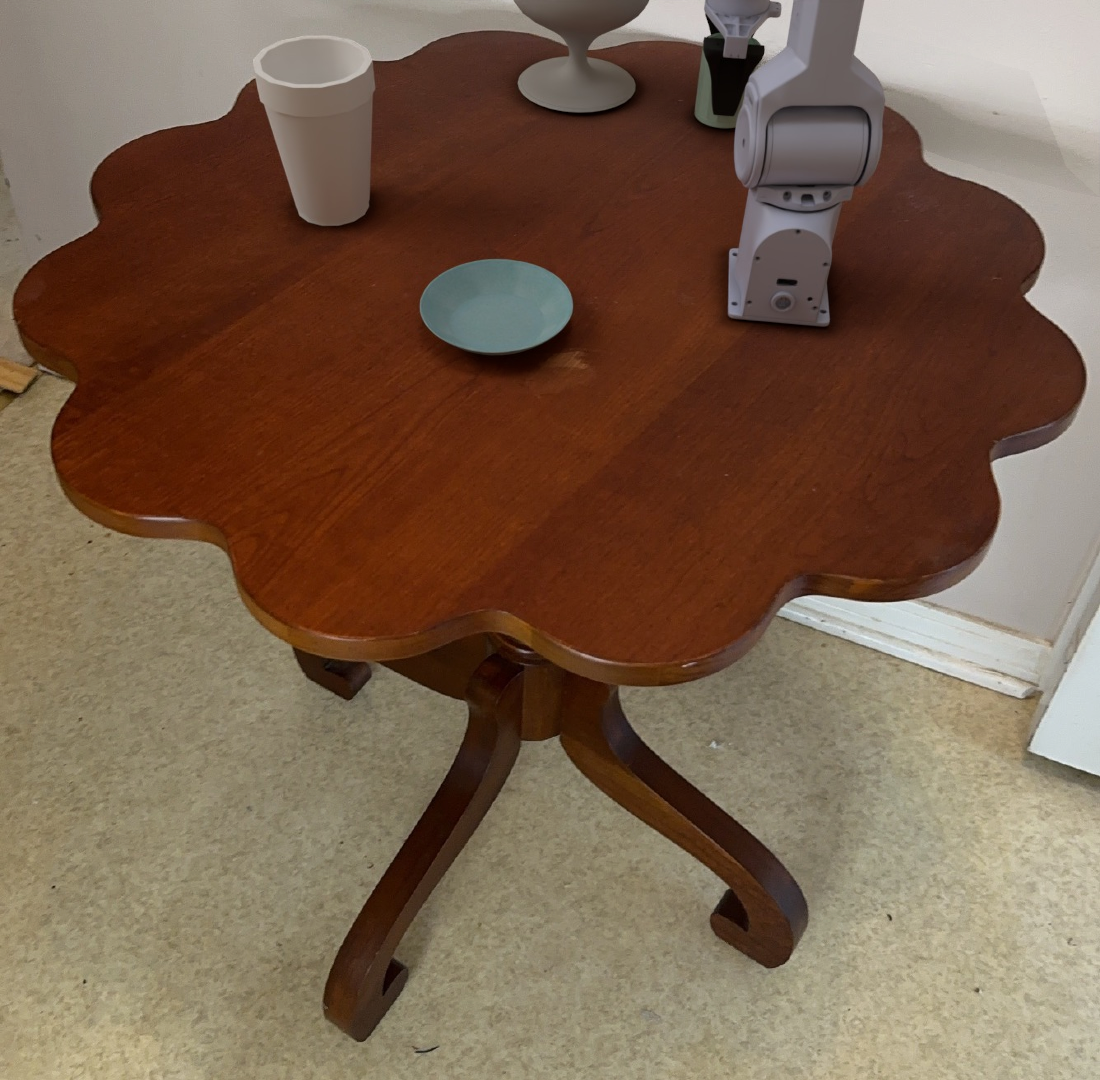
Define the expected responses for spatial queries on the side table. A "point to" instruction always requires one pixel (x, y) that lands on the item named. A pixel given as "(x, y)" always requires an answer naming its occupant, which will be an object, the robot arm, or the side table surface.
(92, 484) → the side table surface
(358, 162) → the foam cup
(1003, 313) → the side table surface
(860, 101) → the robot arm
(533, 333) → the saucer
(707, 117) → the glass
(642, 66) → the side table surface
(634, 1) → the chalice
